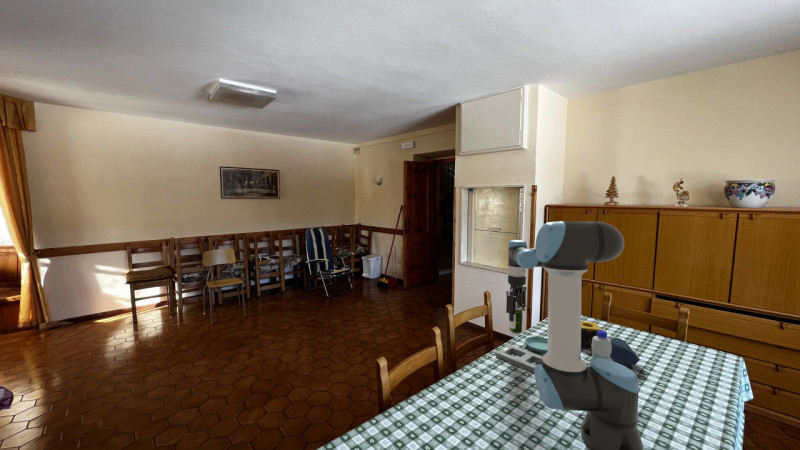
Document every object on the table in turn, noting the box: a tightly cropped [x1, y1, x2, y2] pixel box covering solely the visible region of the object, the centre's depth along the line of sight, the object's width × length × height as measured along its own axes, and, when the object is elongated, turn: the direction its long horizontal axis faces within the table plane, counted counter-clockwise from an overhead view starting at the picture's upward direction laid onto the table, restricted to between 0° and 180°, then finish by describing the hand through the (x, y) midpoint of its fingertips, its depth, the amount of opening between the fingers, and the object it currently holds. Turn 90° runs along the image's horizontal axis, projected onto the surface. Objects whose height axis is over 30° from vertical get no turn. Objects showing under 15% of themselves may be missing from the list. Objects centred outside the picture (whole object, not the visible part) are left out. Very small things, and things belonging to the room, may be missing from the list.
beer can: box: [508, 303, 524, 335], centre depth 141 cm, size 5×5×12 cm
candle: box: [581, 320, 602, 350], centre depth 155 cm, size 10×10×10 cm
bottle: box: [591, 329, 612, 361], centre depth 123 cm, size 7×7×20 cm
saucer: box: [524, 336, 548, 354], centre depth 152 cm, size 15×15×3 cm
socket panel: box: [495, 344, 543, 373], centre depth 139 cm, size 12×22×2 cm, turn 41°
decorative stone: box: [609, 337, 641, 367], centre depth 136 cm, size 12×12×10 cm
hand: (515, 325), depth 142 cm, fingers closed on beer can, 5 cm apart
